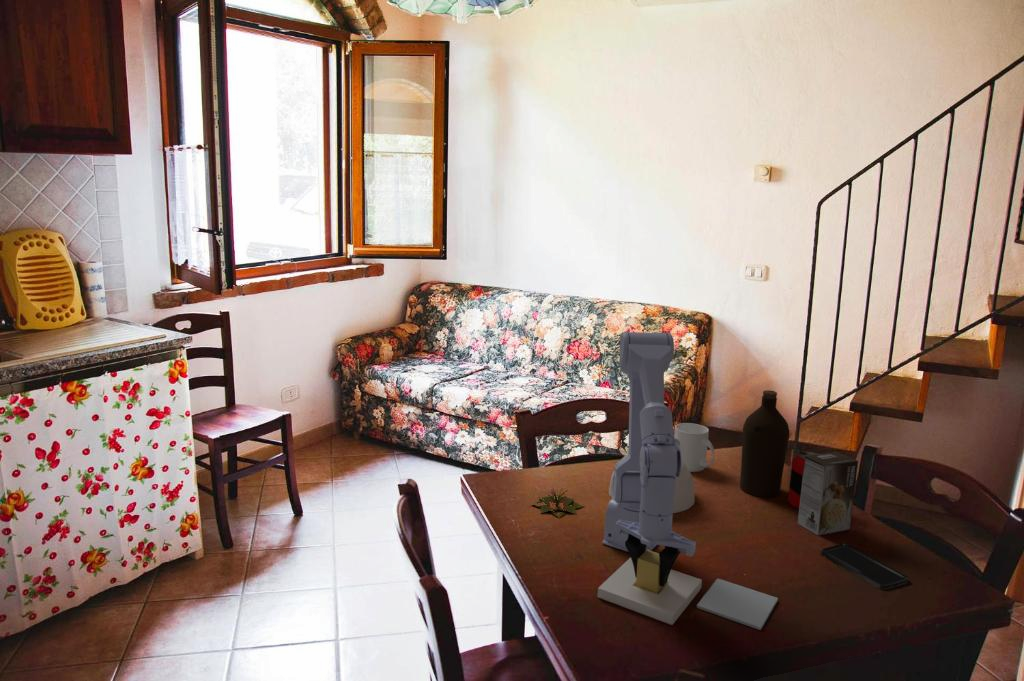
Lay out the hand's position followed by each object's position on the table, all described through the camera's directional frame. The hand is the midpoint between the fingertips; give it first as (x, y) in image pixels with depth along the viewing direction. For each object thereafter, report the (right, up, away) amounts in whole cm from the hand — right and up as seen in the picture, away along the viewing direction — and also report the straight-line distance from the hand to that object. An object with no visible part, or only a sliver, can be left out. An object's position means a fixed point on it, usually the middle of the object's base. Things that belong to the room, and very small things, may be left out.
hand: (651, 579), depth 129 cm
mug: (+23, +9, +60) cm, 65 cm away
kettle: (+8, +6, +42) cm, 44 cm away
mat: (+15, -4, -2) cm, 15 cm away
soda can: (+44, +4, +40) cm, 60 cm away
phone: (+44, -2, +12) cm, 45 cm away
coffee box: (+43, +2, +29) cm, 52 cm away
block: (0, -3, +1) cm, 3 cm away
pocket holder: (0, -3, +1) cm, 3 cm away
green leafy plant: (-15, +4, +35) cm, 38 cm away
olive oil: (+36, +6, +48) cm, 60 cm away
